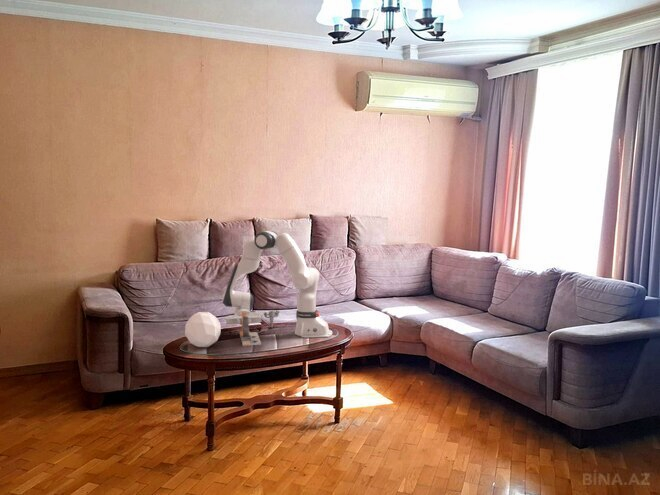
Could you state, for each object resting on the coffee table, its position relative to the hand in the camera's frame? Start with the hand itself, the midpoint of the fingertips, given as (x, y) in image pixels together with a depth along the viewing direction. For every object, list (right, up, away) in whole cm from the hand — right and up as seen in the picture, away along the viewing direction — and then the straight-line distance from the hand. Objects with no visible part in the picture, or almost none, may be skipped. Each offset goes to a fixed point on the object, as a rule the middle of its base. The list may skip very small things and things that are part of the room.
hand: (244, 322), depth 334 cm
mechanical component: (+13, -7, +30) cm, 33 cm away
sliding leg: (0, -7, +2) cm, 7 cm away
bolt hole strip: (+5, -10, +2) cm, 11 cm away
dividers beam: (0, -10, +1) cm, 10 cm away
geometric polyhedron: (-21, -12, -12) cm, 27 cm away
